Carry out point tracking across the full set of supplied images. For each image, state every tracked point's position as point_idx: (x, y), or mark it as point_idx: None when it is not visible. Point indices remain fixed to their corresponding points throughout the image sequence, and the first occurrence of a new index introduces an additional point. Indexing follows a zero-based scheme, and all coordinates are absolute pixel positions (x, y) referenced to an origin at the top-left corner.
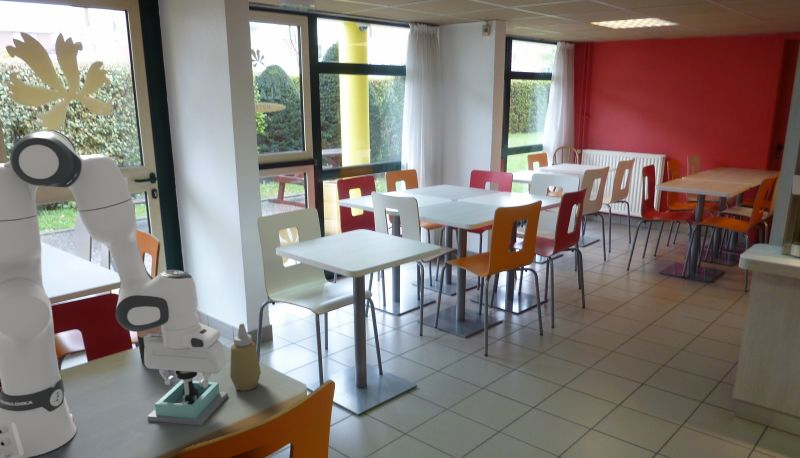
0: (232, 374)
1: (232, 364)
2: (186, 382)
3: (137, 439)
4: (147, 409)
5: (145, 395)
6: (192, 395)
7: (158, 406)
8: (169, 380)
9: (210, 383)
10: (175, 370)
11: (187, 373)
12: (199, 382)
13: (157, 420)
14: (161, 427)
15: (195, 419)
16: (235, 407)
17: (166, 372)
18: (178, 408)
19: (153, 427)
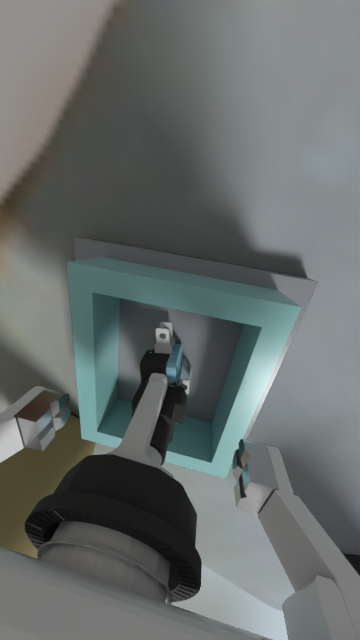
0: (51, 468)
1: (16, 518)
2: (128, 434)
3: (329, 98)
4: (326, 356)
5: (350, 434)
6: (141, 376)
7: (274, 298)
8: (250, 472)
9: (106, 438)
10: (163, 611)
11: (67, 518)
12: (37, 417)
13: (265, 271)
14: (234, 224)
15: (99, 251)
16: (42, 342)
17: (293, 563)
18: (159, 277)
19: (270, 223)
